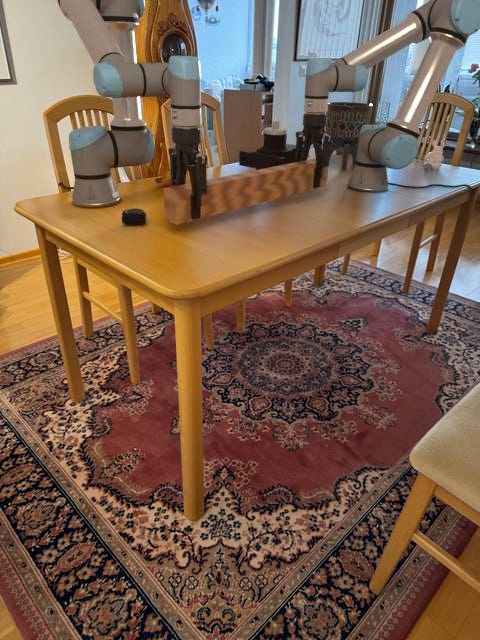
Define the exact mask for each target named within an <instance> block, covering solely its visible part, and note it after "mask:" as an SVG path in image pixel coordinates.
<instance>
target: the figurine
mask: <svg viewBox="0 0 480 640" xmlns="http://www.w3.org/2000/svg"><path fill="white" fill-rule="evenodd" d="M437 144H438V142H437V139H436V138H434V139H433V140H432V141H431V146H432V148H433V150H432V151H430V152H428V153H427V154H426V155H425V157H424V161H423V163H422V167H423V168H424V169H433V170H437V171H439V168H440V167H441V165H442V162H443V161H444V155H443V154H444V151H443V149H444V147H445V145H446V143H445V142H444V141H443V140H442V139H440V145H437Z"/></svg>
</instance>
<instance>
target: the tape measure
mask: <svg viewBox="0 0 480 640" xmlns="http://www.w3.org/2000/svg"><path fill="white" fill-rule="evenodd" d="M146 218H147V214H146V212H145V210H144V209H142V208H137V207H135V208H127V209H125V210H123V211H122V213H121V222H122V224H124V225H129V226H130V225H131V226H137V225H146V224H147V219H146Z"/></svg>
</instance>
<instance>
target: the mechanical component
mask: <svg viewBox="0 0 480 640" xmlns="http://www.w3.org/2000/svg"><path fill="white" fill-rule="evenodd" d="M287 138H288V129H287V128H286V127H280V121H279V120H272V126H271V127H265V128H264V129H263V145H262V146H258V147H257V148H256V151H250V150H245V149H241V150H239V153H238V154H239V155H238V157H239V159H238V166H240V167H245V168H250V169H255V170H259V169H265V168H270V167H275V166H280V165H285V164H290V163H295V152H296V144H290V143H287ZM310 156H311V154H310V152H309V154H308V157H307V160H309V158H310Z"/></svg>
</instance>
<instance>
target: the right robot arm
mask: <svg viewBox="0 0 480 640" xmlns="http://www.w3.org/2000/svg"><path fill="white" fill-rule="evenodd" d="M479 30H480V0H429V1H427V2H425V3H424V4H422V5H420V6H419V7H418V8H416V9H414V10H413V11H411V12H409V13H408V14H407V15H406V17H405V19H403V20H402V21H401V22H399V23H397V24H395V25H394V26H392V27H390V28H389V29H387V30H385V31H384V32H382V33H380V34H379V35H377V36H375V37H373V38H372V39H371V40H369V41H367V42H365V43H364V44H362V45H360V46H358V47H356V48H355V49H354V50H352V51H350V52H348V53H347V54H345V55H343V56H341V57H340V58H338V59H336V60H335V61H333V62H332V58H330V57H310V58H308V60H307V62H306V68H305V83H304V84H305V85H304V101H303V112H304V113H303V115H302V126H303V128H302V130H301V131H300V130H299V131H295V138H296V142H295V145H296V152H295V162H300V161H305V160H308V159H307V157H308V154H309V153H310V150H311V146H312V147H313V148H314V157H315V159H316V165H317V167H315V170H314V182H313V188H317V187H320V178H322V173H323V168H324V167H327V166H328V165H330V162H329V152H330V142H331V139H332V135H327V134H326V133H325V126H326V118H327V115H326V112H327V108H328V103H329V95H330V93H359V92H362V91H364V89H365V88H366V85H367V83H368V78H369V77H368V75H369V74H368V70H369V69H371V68H372V67H374V66H376V65H377V64H380V63H381V62H382V61H384V60H386V59H388V58H389V57H391V56H393V55H394V54H396V53H398V52H400V51H401V50H403V49H405V48H407V47H408V46H410V45H412V44H415V45H416V44H417V45H418V44H419V43H421V42H424V41H425V40H428V39H429V40H430V42H429V45H428V46H427V49H426V52H424V54H423V57H422V59H421V61H420V64H419V65H418V68H417V69H416V71H415V74H414V76H413V79H412V81H411V83H410V85H409V86H408V89H407V91H406V93H405V96H404V97H403V99H402V102H401V104H400V106H399V108H398V110H397V112H396V114H395V117H394V118H393V119H390V120H388V122H387V123H386V124H369V125H363V126H362V127H361V131H360V134H359V143H358V151H357V158H356V165H355V166H354V167H353V171H351V174H350V176H349V179H348V182H347V187H348V188H349V189H351V190H354V191H358V192H363V193H364V192H365V193H382V192H386V191H388V189H389V186H393V187H400V188H405V189H427V188H430V187H440V188H441V187H443V188H451V189H454V188H462V187H466V188H468V189H469V190H472V189H473V188H472V186H471V185H469V184H465V183H462V184H457V185H449V184H441V183H431V184H427V185H421V186H418V185H416V186H415V185H404V184H399V183H394V182H389V178H388V173H387V172H388V171H387V169H391V170H402V169H405V168H406V167H409V166H410V165H411V164H412V163H413V162H414V160H415V159H416V157H417V155H418V152H419V142H418V139H419V137H420V135H421V132H420V125H421V123H422V121H423V118H424V117H425V115H426V113H427V111H428V109H429V107H430V105H431V103H432V100H434V97H435V95H436V93H437V91H438V89H439V87H440V85H441V82H442V81H443V78H444V77H445V74H446V73H447V71H448V69H449V66H450V64H451V62H452V60H453V58H454V56H455V54H456V53H457V51H459V50H461V49H463V48H464V47H465V45H466V43H467V42H468V39H469V38H470V36H472V35H474V34H476V33H477V32H478V31H479ZM328 167H329V166H328ZM320 188H321V187H320ZM317 189H318V188H317Z"/></svg>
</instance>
